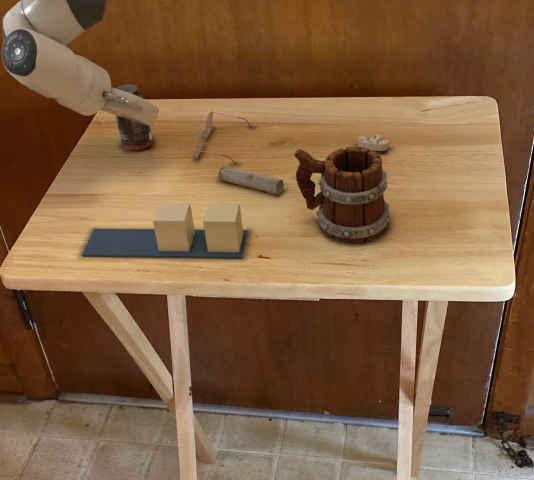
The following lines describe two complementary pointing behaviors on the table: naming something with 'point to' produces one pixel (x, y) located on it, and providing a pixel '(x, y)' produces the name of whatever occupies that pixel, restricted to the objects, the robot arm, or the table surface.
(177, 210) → the cream block
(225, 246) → the cream block
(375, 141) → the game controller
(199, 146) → the eyeglasses
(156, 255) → the line strip
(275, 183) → the rod
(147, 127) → the supplement bottle
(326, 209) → the mug
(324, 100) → the table surface
